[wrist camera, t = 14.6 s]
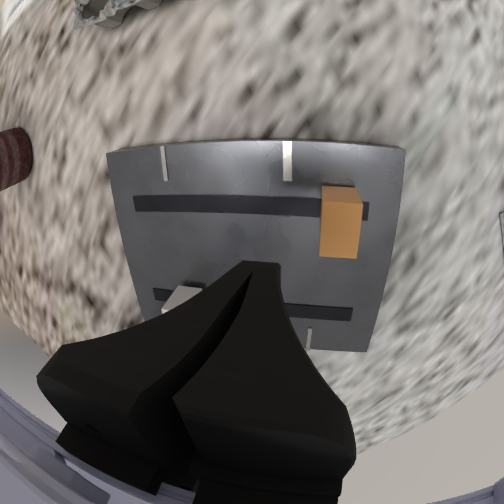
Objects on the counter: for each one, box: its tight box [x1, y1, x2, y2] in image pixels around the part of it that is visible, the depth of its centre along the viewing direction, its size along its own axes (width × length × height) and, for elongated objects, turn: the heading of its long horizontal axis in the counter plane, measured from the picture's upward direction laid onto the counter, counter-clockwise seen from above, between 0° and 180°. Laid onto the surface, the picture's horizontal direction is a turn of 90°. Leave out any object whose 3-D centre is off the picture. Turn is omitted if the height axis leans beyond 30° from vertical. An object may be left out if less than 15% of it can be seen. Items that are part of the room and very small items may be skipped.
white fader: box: [161, 286, 202, 314], centre depth 21 cm, size 3×2×3 cm, turn 2°
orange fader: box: [319, 186, 363, 259], centre depth 15 cm, size 3×2×3 cm, turn 3°
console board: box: [106, 138, 405, 352], centre depth 21 cm, size 16×20×2 cm
